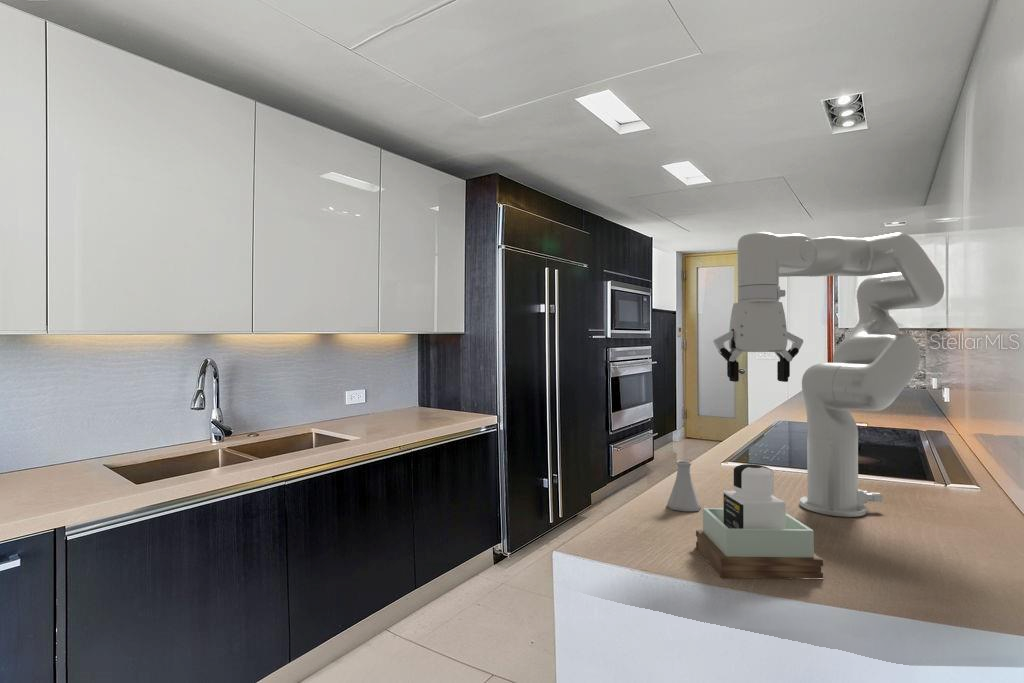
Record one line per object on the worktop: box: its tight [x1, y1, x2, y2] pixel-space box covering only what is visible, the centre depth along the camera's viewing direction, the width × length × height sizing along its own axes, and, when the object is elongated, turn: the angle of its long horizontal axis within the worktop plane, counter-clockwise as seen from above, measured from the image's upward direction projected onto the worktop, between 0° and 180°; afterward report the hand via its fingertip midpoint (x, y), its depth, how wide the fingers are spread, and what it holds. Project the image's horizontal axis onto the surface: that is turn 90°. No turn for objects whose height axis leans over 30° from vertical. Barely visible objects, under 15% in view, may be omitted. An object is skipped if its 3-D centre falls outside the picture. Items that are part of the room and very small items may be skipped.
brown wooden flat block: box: [695, 529, 824, 580], centre depth 89 cm, size 15×13×3 cm
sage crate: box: [702, 507, 815, 558], centre depth 89 cm, size 13×11×4 cm
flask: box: [666, 460, 702, 512], centre depth 119 cm, size 7×7×10 cm
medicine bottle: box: [723, 463, 787, 529], centre depth 89 cm, size 7×7×12 cm
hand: (758, 381), depth 109 cm, fingers open, 9 cm apart
